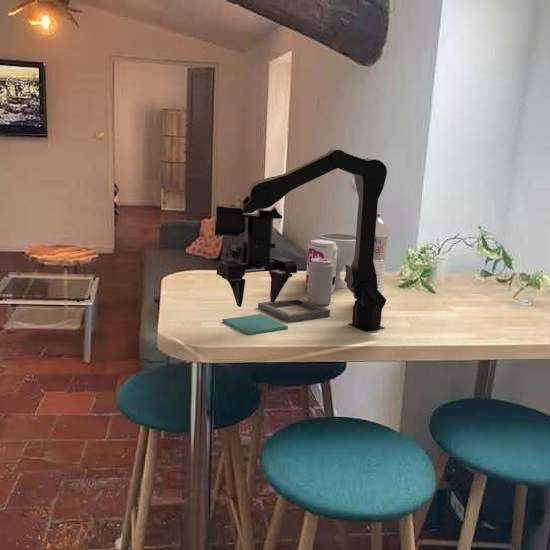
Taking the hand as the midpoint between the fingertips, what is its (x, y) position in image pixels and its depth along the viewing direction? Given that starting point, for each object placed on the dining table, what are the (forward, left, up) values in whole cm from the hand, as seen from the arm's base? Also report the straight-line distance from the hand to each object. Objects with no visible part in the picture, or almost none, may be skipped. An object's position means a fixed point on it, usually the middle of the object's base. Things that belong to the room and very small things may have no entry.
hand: (256, 304), depth 144 cm
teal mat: (0, 0, -5) cm, 5 cm away
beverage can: (+9, -26, -5) cm, 28 cm away
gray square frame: (+5, -15, -5) cm, 17 cm away
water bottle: (+2, -38, -5) cm, 38 cm away
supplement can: (+18, -34, -5) cm, 39 cm away
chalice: (+23, -45, -5) cm, 51 cm away
